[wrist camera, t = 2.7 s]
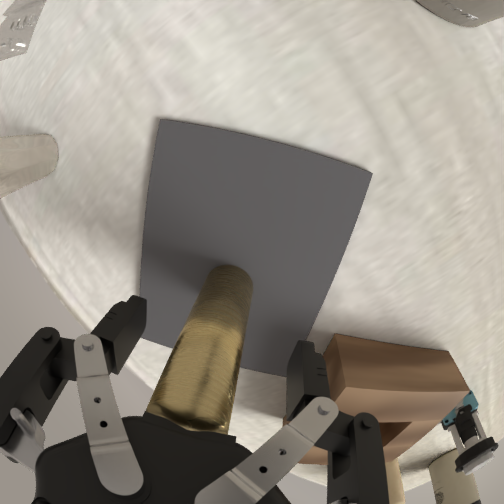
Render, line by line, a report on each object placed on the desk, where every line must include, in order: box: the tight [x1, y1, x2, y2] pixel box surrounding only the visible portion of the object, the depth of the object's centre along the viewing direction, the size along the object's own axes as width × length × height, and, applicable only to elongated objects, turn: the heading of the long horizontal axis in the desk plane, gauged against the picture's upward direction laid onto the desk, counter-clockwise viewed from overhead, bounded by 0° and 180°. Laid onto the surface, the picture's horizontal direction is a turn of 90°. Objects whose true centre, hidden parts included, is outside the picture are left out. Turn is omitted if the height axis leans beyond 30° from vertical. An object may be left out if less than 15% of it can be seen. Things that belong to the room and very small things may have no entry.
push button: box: [438, 390, 498, 475], centre depth 18 cm, size 7×5×10 cm
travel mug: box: [428, 448, 481, 504], centre depth 22 cm, size 8×8×18 cm
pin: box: [146, 265, 253, 435], centre depth 13 cm, size 3×3×10 cm
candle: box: [385, 458, 405, 504], centre depth 24 cm, size 6×6×10 cm
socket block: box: [283, 334, 470, 465], centre depth 19 cm, size 12×12×5 cm
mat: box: [140, 119, 373, 377], centre depth 17 cm, size 16×12×1 cm
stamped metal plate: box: [0, 0, 46, 61], centre depth 10 cm, size 8×7×2 cm
